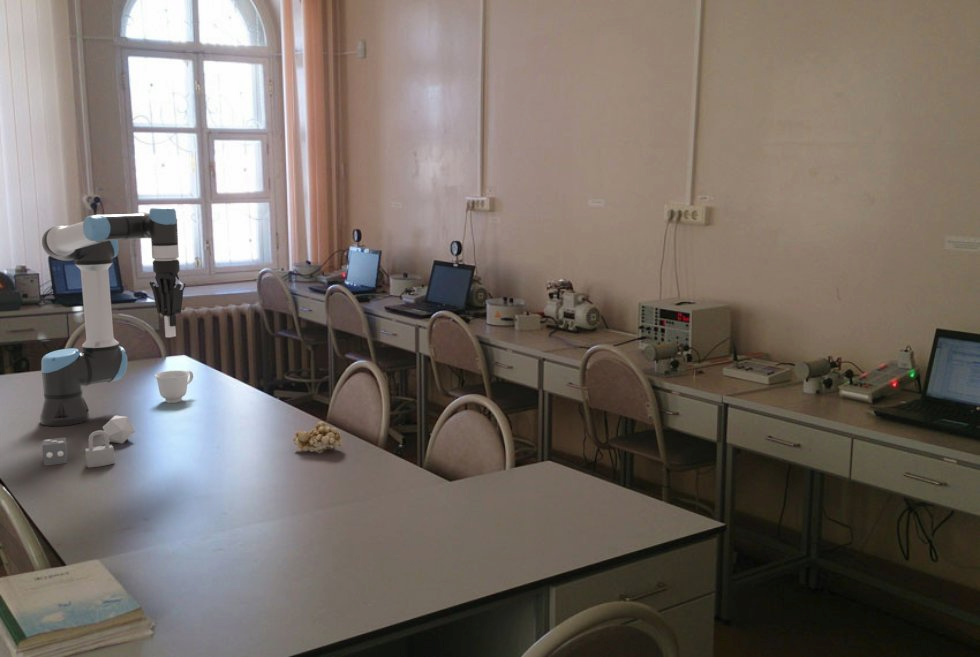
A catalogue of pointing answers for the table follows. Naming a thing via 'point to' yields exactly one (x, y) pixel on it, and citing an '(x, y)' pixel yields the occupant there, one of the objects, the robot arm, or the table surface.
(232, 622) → the table surface
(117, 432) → the die
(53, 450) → the dotted block
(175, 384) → the teacup
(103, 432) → the padlock
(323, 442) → the mineral formation
